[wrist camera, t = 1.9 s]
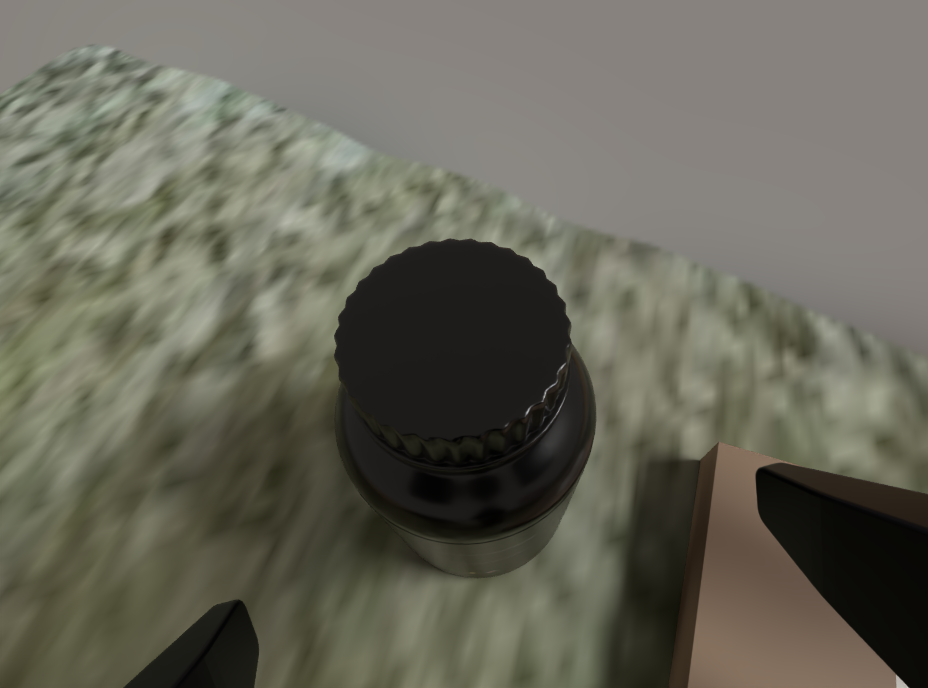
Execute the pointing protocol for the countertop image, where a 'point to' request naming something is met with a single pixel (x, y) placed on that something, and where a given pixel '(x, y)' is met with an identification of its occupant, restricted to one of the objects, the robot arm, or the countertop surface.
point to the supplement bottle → (463, 404)
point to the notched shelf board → (756, 599)
